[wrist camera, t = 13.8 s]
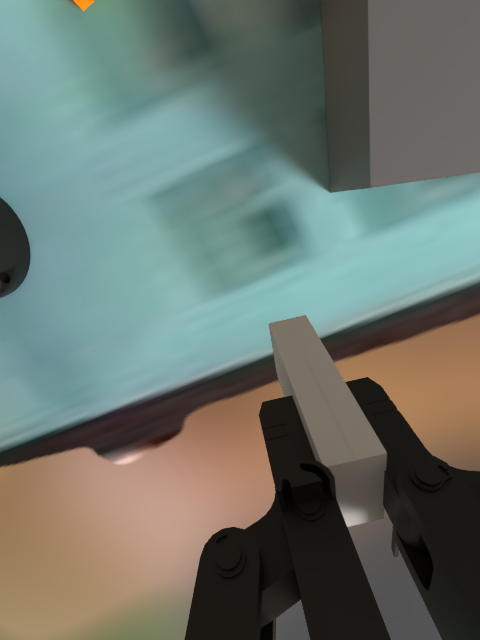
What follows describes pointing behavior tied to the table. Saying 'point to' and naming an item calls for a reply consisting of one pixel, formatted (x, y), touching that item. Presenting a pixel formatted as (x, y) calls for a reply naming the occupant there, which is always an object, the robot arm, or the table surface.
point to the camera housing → (401, 90)
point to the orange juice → (83, 3)
